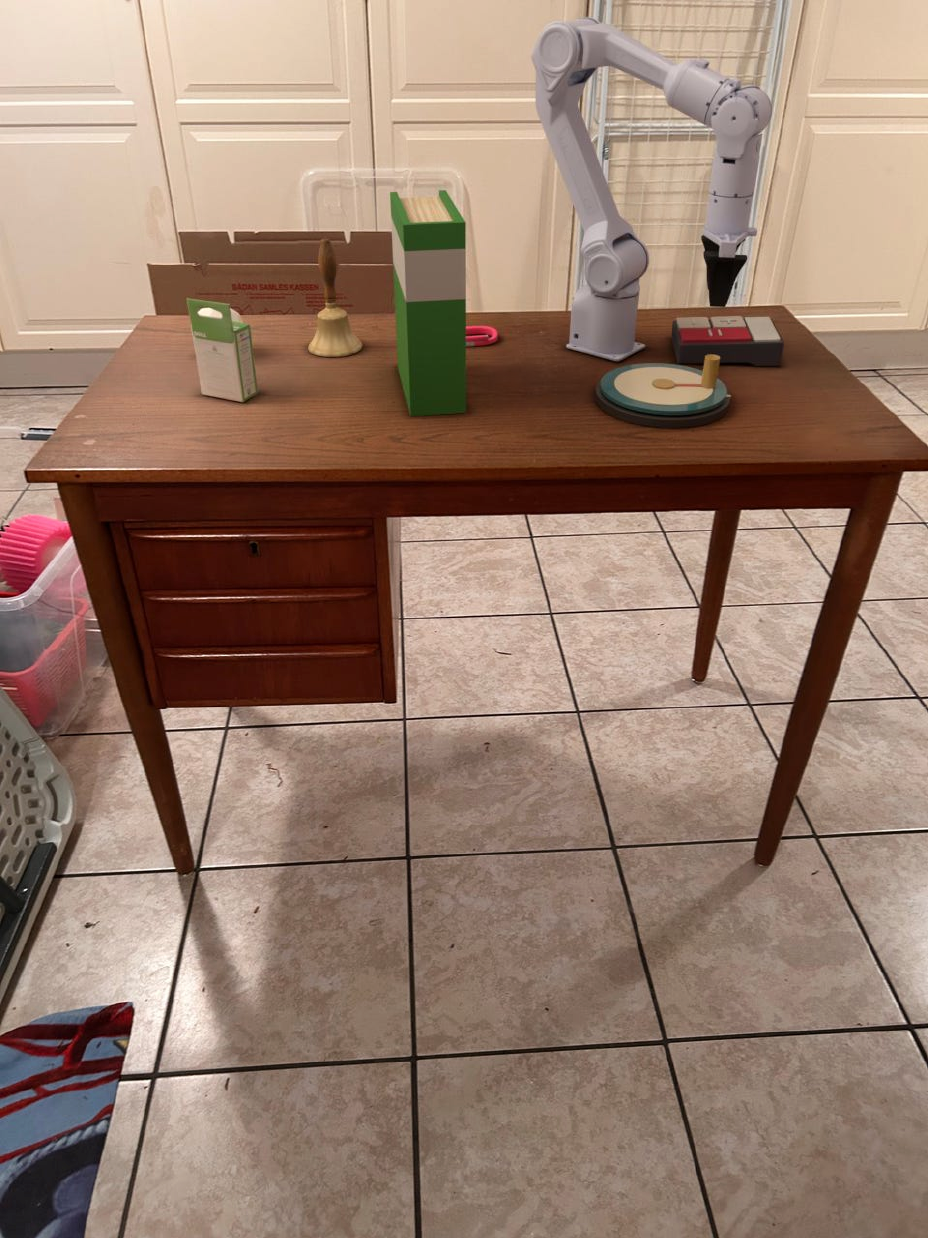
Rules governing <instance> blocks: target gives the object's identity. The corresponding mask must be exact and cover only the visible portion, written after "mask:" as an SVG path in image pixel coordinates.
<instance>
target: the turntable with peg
mask: <svg viewBox="0 0 928 1238" xmlns="http://www.w3.org/2000/svg"><path fill="white" fill-rule="evenodd" d="M720 364H721V363H720V356H718V355H713V354H710V355H706V356H705V360H704V363H703V368H702V370H701V369H698V368H694V367H690V366H688V365H687V366H686V365H682V364H675V363H663V362H648V363H634V364H628V365H623V366H621V367H617V368H614V369H613V370H612V369H611V370H610V371H609V372H606V374H604V375H603V377H602V378H601V379H600V381H601V391H602V393H603V395H604V396H605V397H606V398H607V399H609V400H610V401H612V402H614V403H615V404H617V405H620V406H622V407H625V408H628V409H631V410H635V411H639V412H644V413H650V414H658V415H689V414H696V413H701V412H705V411H709V410H711V409H714V408H716V407H718V406H719V405H721V404H722V403H723V402H724V401H725V399H726V395H727V390H728V389H727V386H726V384H725V383H724V382H723V381H722V380H721V379H720V378H718V376H719V369H720Z"/></svg>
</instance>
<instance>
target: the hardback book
mask: <svg viewBox="0 0 928 1238" xmlns="http://www.w3.org/2000/svg"><path fill="white" fill-rule="evenodd" d="M389 198H390V221H391V239H392V240H391V243H392V244H391V245H392V246H391V247H392V267H393V288H394V291H393V292H394V309H395V311H394V312H395V332H396V333H395V334H396V351H397V352H396V355H397V357H396V358H397V369H398V373H399V377H400V381H401V384H402V389H403V393H404V396H405V400H406V404H407V408H408V412H409V416H410V417H423V416H438V415H452V414H466V413H467V347H466V336H467V335H466V327H467V273H466V272H467V268H466V267H467V259H466V258H467V257H466V256H467V255H466V254H467V249H466V248H467V245H466V242H467V241H466V240H467V239H466V237H467V235H466V231H467V230H466V229H467V227H466V226H467V224H466V220H465V218H464V217H463V216H462V214H461V212H460V211H459V209H458V208H457V206H456V205H455V203H454V201H453V200H452V198H451V197H450V195H449V193H448V192H447V190H446V189H439V190H438V196H423V197H422V196H420V197H400V195H399V193H398V191H390V192H389Z"/></svg>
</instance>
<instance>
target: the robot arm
mask: <svg viewBox="0 0 928 1238" xmlns="http://www.w3.org/2000/svg"><path fill="white" fill-rule="evenodd" d="M530 60H531V62H532V64H533V67H534V70H535V110H536V113H537V115H538V119H539V120H540V123H541V126H542V128H543V131H544V133H545V136H546V139H547V141H548V144H549V146H550V149H551V151H552V154H553V156H554V159H555V162H556V164H557V166H558V169H559V172H560V174H561V176H562V179H563V182H564V184H565V187H566V190H567V192H568V195H569V198H570V199H571V203H572V204H573V208H574V210H575V213H576V215H577V217H578V220H579V223H580V225H581V227H582V230H583V239H582V242H581V247H580V253H581V255H582V258H583V261H584V273H583V274H584V279H585V281H586V284H583V285H582V286H580V287H579V288H578V290H576V292H575V293H574V297H573V300H572V303H571V310H570V311H571V312H570V327H569V341H568V342H569V343H567V344H566V349H569V350H572V351H576V352H579V353H583V354H587V355H591V356H594V357H597V358H602V359H605V360H609V361H613V362H620V361H623V360H625V359H627V358H628V357H630V356H632V355H634V354H636V353H637V352H640V351H641V350H644V349H645V348H646V344H644V343H640V342H638V341H637V342H636V341H635V338H636V329H637V319H638V310H639V301H640V290H641V287H640V279H641V278H642V277H643V276H644V275H645V273H646V272H647V271H648V268H649V265H650V253H649V250H648V248H647V246H646V244H645V243H643V242H642V240H641V239H640V238H639V237H638V236H637V235H636V233H635V230H634V228H633V226H632V225H631V224H630V223H629V221H628V220H626V219H624V217H622V216H621V215H620V213H619V210H618V207H617V205H616V203H615V199H614V197H613V194H612V192H611V189H610V186H609V183H608V181H607V178H606V175H605V173H604V170H603V167H602V165H601V163H600V160H599V158H598V155H597V152H596V149H595V147H594V144H593V141H592V139H591V137H590V134H589V131H588V129H587V126H586V123H585V121H584V118H583V115H582V113H581V110H580V107H579V102H580V99H581V97H582V94H583V92H584V90H585V87H586V84H587V83H588V81H589V80H590V79H591V77H592V76H593V75H594V73H595V72H596V71H597V70H598V68H604V67H612V68H614V69H617V70H618V71H621V72H623V73H625V74H627V75H629V76H632V77H634V78H636V79H638V80H640V81H642V82H645V83H646V84H649V85H651V86H653V87H656V88H657V89H659V90H662V91H663V94H664V98H665V101H666V103H667V105H668V106H669V107H671V108H673V109H674V110H675V111H678V112H679V113H681V114H684V115H686V116H687V117H689V118H690V119H693V120H695V121H696V122H698V123H700V124H702V125H704V126H706V127H707V128H711V130H712V132H713V134H714V136H715V138H716V139H715V148H714V154H713V159H712V166H711V167H712V168H711V174H710V183H709V191H708V196H707V197H708V198H707V205H706V212H705V213H706V214H705V219H704V220H705V221H704V225H703V226H702V230H701V231H702V232H701V233H702V235H701V236H700V239H701V243H702V246H703V249H704V250H703V253H702V255H703V260H704V263H705V265H706V286H707V287H706V288H707V291H708V303H709V307H712V308H726V307H727V304H728V301H729V299H730V296H731V294H732V290H733V288H734V285H735V282H736V279H737V277H738V275H739V274H740V272H741V270H742V269H743V267H744V266H745V265H746V263H747V261H748V255H747V254H737V251H738V249H739V248H740V247H741V245H742V243H743V241H744V240H746V239H747V238H748V237H756V236H757V233H758V229H757V228H756V227H751V226H750V220H751V214H752V207H753V201H754V194H755V190H756V189H755V188H756V183H757V176H758V169H759V162H760V151H761V145H762V141H763V134H762V132H763V131H764V130H765V129H766V128H767V126H768V125H769V123H770V121H771V118H772V115H773V106H772V101H771V99H770V96H769V95H768V94H767V93H766V91H764V90H763V89H761V88H760V87H759V86H758V85H754V84H752V85H751V84H750V85H746V86H741V84H742V79H740V78H739V77H736V76H734V77H731V78H730V77H727V76H726V75H724V74H722V73H719V72H718V71H716V70H714V69H713V68H710V67H709V65H710V63H711V62H710V60H708V59H705V58H703V57H699V58H697V59H696V60H694V59H692V58H689V59H686V60H684V61H681V62H680V63H676V62H674V61H672V60H671V59H669V58H667V57H666V56H664V55H662V54H660V53H659V52H658V51H655V50H654V49H653V48H651V47H649V46H647V45H646V44H644V43H642V42H641V41H639V40H637V39H636V38H634V37H632V36H631V35H629V34H627V33H626V32H623V31H622V30H620V29H619V28H618V27H616V26H614V25H612V24H609V23H606V22H600V20H598V19H596V18H595V17H592V16H584V17H580V18H578V19H572V20H571V19H570V20H565V21H563V20H555V21H552V22H550V23H547V24H546V25H545V26H544V27H543V28H542V29H541V31H540V33H539V35H538V37H537V39H536V42H535V44H534V48H533V50H532V53H531V55H530Z"/></svg>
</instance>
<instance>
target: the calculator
mask: <svg viewBox="0 0 928 1238" xmlns="http://www.w3.org/2000/svg"><path fill="white" fill-rule="evenodd" d="M670 337H671V338H670V340H671V343H672V347H673V352H674V355H675V359H676V363H677V364H678V365H687V364H689V365H691V364H692V365H693V364H694V365H695V364H696V365H697V364H699V365H700V364H704V360H705V356H706V355H710V354H713V355H718V356H720V364H739V363H740V364H741V363H742V364H743V363H748V364H751V365H752V366H754V367H779V366H781V365H782V359H783V352H784V345H785V342H784V339H783V337H782V335H781V334H780V332H779V329H778V328H777V326H776V324H775V322H774V321H773V318H771V317H770V316H746V317H744V318H743V316H741V315H734V316H733V315H731V316H729V315H727V316H726V315H725V316H711V317H710V318H708V317H707V316H692V317H676V319H675V320H672V325H671V336H670Z"/></svg>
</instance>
